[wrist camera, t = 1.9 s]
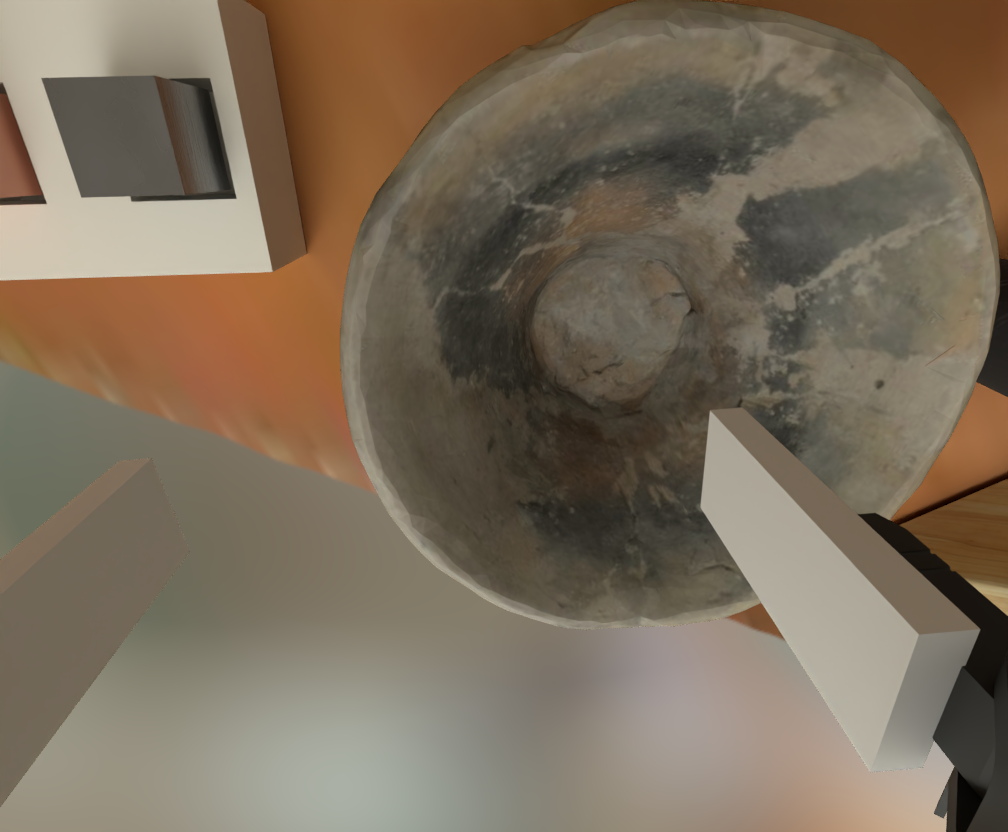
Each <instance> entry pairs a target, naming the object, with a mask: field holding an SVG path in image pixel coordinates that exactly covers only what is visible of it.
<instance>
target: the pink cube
mask: <svg viewBox="0 0 1008 832" xmlns="http://www.w3.org/2000/svg"><path fill="white" fill-rule="evenodd" d="M33 195H43V193H42V191H41V188H40V185H39V182H38V180H37V177H36V174H35V171H34V169H33V166H32V163H31V160H30V158H29V155H28V152H27V149H26V147H25V144H24V141H23V138H22V136H21V133H20V130H19V127H18V125H17V122H16V119H15V116H14V114H13V111H12V108H11V105H10V103H9V100H8V97H7V94H1V93H0V198H7V197H20V196H33Z"/></svg>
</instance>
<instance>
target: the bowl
mask: <svg viewBox="0 0 1008 832" xmlns="http://www.w3.org/2000/svg"><path fill="white" fill-rule="evenodd" d="M999 294H1000V264H999V251H998V241H997V237H996V232H995V227H994V223H993V218H992V214H991V209H990V205H989V200H988V197H987V193H986V190H985V186H984V183H983V179H982V176H981V173H980V170H979V167H978V165H977V162H976V159H975V157H974V155H973V153H972V150H971V148H970V146H969V144H968V142H967V140H966V139H965V137H964V135H963V134H962V132H961V131H960V129H959V128H958V126H957V124H956V123H955V121H954V120H953V119H952V117H951V116H950V115H949V114H948V112H947V111H946V110H945V108H944V107H943V106H942V105H941V103H940V102H939V101H938V99H937V98H936V97H935V96H934V95H933V94H932V93H931V92H930V91H929V90H928V89H927V88H926V87H925V86H924V85H922V83H921V82H920V81H919V80H918V79H917V78H916V77H915V76H914V75H913V74H912V73H911V72H910V71H909V70H908V69H907V68H906V67H905V66H904V65H903V64H902V63H900V62H899V61H898V60H896V59H895V58H893V57H892V56H891V55H889V54H888V53H887V52H885V51H884V50H882V49H881V48H880V47H878V46H877V45H876V44H874V43H873V42H871V41H870V40H868V39H865V38H863V37H860V36H857V35H855V34H852V33H849V32H847V31H844V30H841V29H838V28H836V27H833V26H830V25H827V24H824V23H821V22H818V21H815V20H812V19H808V18H805V17H802V16H798V15H795V14H791V13H788V12H783V11H778V10H773V9H768V8H762V7H756V6H749V5H741V4H733V3H723V2H712V1H696V0H638V1H634V2H630V3H626V4H623V5H619V6H615V7H611V8H609V9H606V10H604V11H602V12H599V13H597V14H595V15H592V16H590V17H588V18H586V19H583V20H581V21H579V22H577V23H575V24H572V25H571V26H569V27H567V28H565V29H564V30H562V31H560V32H558V33H557V34H555V35H553V36H551V37H549V38H547V39H544V40H542V41H540V42H538V43H536V44H533V45H530V46H521V47H519V48H517V49H516V50H514V51H512V52H511V53H509V54H507V55H506V56H504V57H502V58H501V59H499V60H497V61H496V62H494V63H493V64H491V65H489V66H488V67H486V68H485V69H483V70H481V71H480V72H479V73H477V74H476V75H475V76H473V77H472V78H471V79H469V80H468V81H467V82H465V83H464V84H463V85H461V86H460V87H459V88H458V89H457V90H456V91H455V92H454V93H453V94H452V95H451V96H450V97H449V99H448V100H447V101H446V102H445V103H444V104H443V105H442V106H441V107H440V108H439V109H438V110H437V111H436V113H435V114H434V115H433V116H432V118H431V119H430V120H429V121H428V123H427V124H426V125H425V126H424V128H423V129H422V130H421V132H420V133H419V135H418V136H417V138H416V139H415V141H414V143H413V144H412V146H411V147H410V148H409V150H408V151H407V153H406V154H405V155H404V157H403V158H402V160H401V161H400V162H399V164H398V165H397V167H396V168H395V169H394V170H393V172H392V173H391V174H390V176H389V177H388V178H387V180H386V181H385V182H384V184H383V185H382V186H381V188H380V189H379V191H378V192H377V193H376V195H375V197H374V199H373V201H372V203H371V205H370V207H369V209H368V211H367V213H366V215H365V217H364V219H363V221H362V223H361V225H360V228H359V232H358V235H357V238H356V241H355V245H354V248H353V251H352V255H351V260H350V264H349V269H348V273H347V278H346V284H345V291H344V298H343V308H342V318H341V328H340V363H341V379H342V391H343V397H344V403H345V409H346V415H347V419H348V424H349V428H350V432H351V437H352V440H353V443H354V445H355V448H356V450H357V453H358V455H359V457H360V460H361V462H362V464H363V466H364V468H365V470H366V472H367V474H368V476H369V478H370V480H371V482H372V484H373V486H374V488H375V490H376V492H377V493H378V495H379V497H380V499H381V501H382V503H383V504H384V506H385V508H386V510H387V512H388V513H389V514H390V516H391V517H392V518H393V520H394V521H395V523H396V524H397V525H398V526H399V528H400V529H401V530H402V531H403V533H404V534H405V535H406V536H407V538H408V539H409V540H410V541H411V543H412V544H413V545H414V546H415V547H416V548H417V549H418V550H419V551H420V552H421V553H422V554H423V555H424V556H425V557H426V558H427V559H428V560H429V561H430V562H432V563H433V564H434V565H435V566H436V567H437V568H438V569H440V570H442V571H443V572H444V573H446V574H447V575H449V576H451V577H452V578H454V579H455V580H457V581H459V582H460V583H461V584H463V585H465V586H466V587H468V588H469V589H471V590H472V591H474V592H475V593H477V594H478V595H479V596H480V597H482V598H484V599H486V600H488V601H490V602H492V603H493V604H495V605H497V606H499V607H501V608H503V609H505V610H508V611H511V612H513V613H517V614H519V615H522V616H525V617H529V618H532V619H535V620H538V621H542V622H545V623H548V624H551V625H555V626H558V627H562V628H573V629H586V630H590V629H597V628H629V627H639V626H645V627H646V626H647V627H655V626H678V625H684V624H690V623H697V622H706V621H711V620H716V619H720V618H724V617H728V616H731V615H733V614H736V613H739V612H742V611H744V610H746V609H748V608H751V607H753V606H755V605H757V604H759V603H761V601H760V599H759V598H758V596H757V595H756V593H755V592H754V590H753V589H752V587H751V585H750V584H749V582H748V581H747V579H746V578H745V576H744V575H743V573H742V571H741V570H740V568H739V567H738V565H737V564H736V562H735V560H734V559H733V557H732V556H731V554H730V553H729V551H728V550H727V548H726V546H725V545H724V543H723V542H722V540H721V539H720V537H719V536H718V534H717V532H716V531H715V529H714V528H713V526H712V525H711V523H710V521H709V520H708V518H707V517H706V515H705V514H704V512H703V511H702V509H701V507H700V506H701V496H702V486H703V476H704V466H705V456H706V446H707V435H708V425H709V415H710V410H718V409H730V408H744V409H745V410H746V411H747V412H748V413H749V414H750V415H751V416H752V417H753V418H754V419H755V420H756V421H757V422H759V423H760V424H761V425H762V426H763V427H764V428H765V429H766V430H767V431H768V432H769V433H770V434H771V435H773V436H774V437H775V438H776V439H777V440H778V441H779V442H780V443H781V444H782V445H783V446H784V447H785V448H786V449H788V450H789V451H790V452H791V453H792V454H793V455H794V456H795V457H796V458H797V459H798V460H799V461H800V462H802V463H803V464H804V465H805V466H806V467H807V468H808V469H809V470H810V471H811V472H812V473H813V474H814V475H815V476H817V477H818V478H819V479H820V480H821V481H822V482H823V483H824V484H825V485H826V486H827V487H828V488H829V489H830V490H832V491H833V492H834V493H835V494H836V495H837V496H838V497H839V498H840V499H841V500H842V501H843V502H844V503H846V504H847V505H848V506H849V507H850V508H851V509H852V510H853V511H854V512H855V513H856V514H867V513H877V514H879V515H880V516H882V517H884V518H886V519H888V520H891V519H892V517H893V516H894V515H895V513H896V512H897V511H898V509H899V508H900V507H901V506H902V505H903V504H904V503H905V502H906V501H907V500H908V499H909V498H910V496H911V495H912V494H913V493H914V492H915V491H916V490H917V488H918V487H919V486H920V485H921V483H922V481H923V480H924V478H925V476H926V475H927V473H928V471H929V470H930V468H931V467H932V465H933V463H934V462H935V460H936V459H937V457H938V456H939V454H940V453H941V451H942V449H943V448H944V446H945V445H946V443H947V442H948V440H949V438H950V437H951V435H952V433H953V431H954V429H955V427H956V425H957V423H958V421H959V419H960V417H961V415H962V413H963V411H964V409H965V407H966V405H967V403H968V401H969V399H970V397H971V395H972V392H973V389H974V386H975V384H976V381H977V378H978V376H979V374H980V372H981V370H982V368H983V365H984V362H985V360H986V357H987V354H988V351H989V348H990V342H991V337H992V331H993V326H994V321H995V315H996V310H997V304H998V299H999Z"/></svg>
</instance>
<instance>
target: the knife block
mask: <svg viewBox="0 0 1008 832" xmlns="http://www.w3.org/2000/svg"><path fill="white" fill-rule="evenodd" d="M900 526H902V527H903V528H905V529H907V530H908V531H909V532H910V533H912V534H913V535H914V536H915V537H916V538H917V539H919V540H920V541H921V542H922V543H923V544H924V545H926V546H927V547H928V548H929V549H930V552H931V554H936V555H937V556H938V557H940V558H941V559H942V560H943V561H944V562H945V563H947V564H948V565H949V566H950V569H951V571H956V572H957V573H958V574H959V575H961V576H962V577H963V578H964V579H965V580H966V581H968V582H969V583H970V584H971V585H972V586H973V587H975V588H976V589H977V590H978V591H979V592H980V593H982V594H983V595H984V596H985V597H986V598H987V599H989V600H990V601H991V602H992V603H993V604H994V605H996V606H997V607H998V608H999V609H1000V610H1001V611H1003V612H1004V613H1005V614H1006V615H1007V616H1008V479H1006V480H1003V481H1001V482H999V483H996V484H994V485H992V486H989V487H987V488H985V489H983V490H980V491H978V492H976V493H973V494H971V495H969V496H966V497H964V498H962V499H959V500H957V501H955V502H952V503H950V504H948V505H945V506H943V507H941V508H938V509H936V510H934V511H931V512H929V513H927V514H924V515H922V516H920V517H917V518H915V519H913V520H910V521H908V522H905V523H903V524H900Z"/></svg>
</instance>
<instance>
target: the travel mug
mask: <svg viewBox="0 0 1008 832" xmlns="http://www.w3.org/2000/svg"><path fill="white" fill-rule="evenodd" d="M999 264H1000V294H999V299H998V304H997V310H996V315H995V321H994V326H993V331H992V337H991V342H990V348H989V351H988V354H987V357H986V360H985V362H984V365H983V368H982V370H981V372H980V374H979V376H978V378H977V381H976V382H978V383H980V384H982V385H984V386H986V387H988V388H990V389H992V390H994V391H997V392H999V393H1001V394H1003V395H1005V396H1007V397H1008V260H1005V259H999Z"/></svg>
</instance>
